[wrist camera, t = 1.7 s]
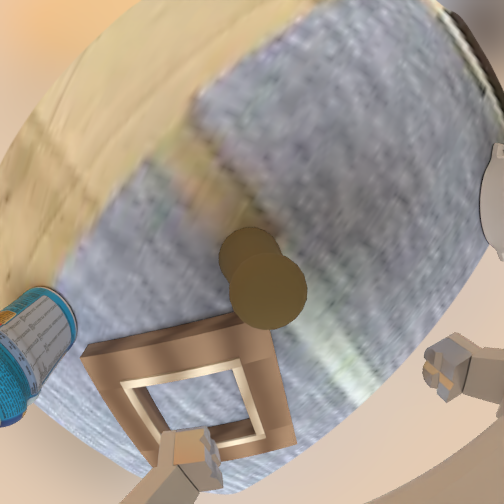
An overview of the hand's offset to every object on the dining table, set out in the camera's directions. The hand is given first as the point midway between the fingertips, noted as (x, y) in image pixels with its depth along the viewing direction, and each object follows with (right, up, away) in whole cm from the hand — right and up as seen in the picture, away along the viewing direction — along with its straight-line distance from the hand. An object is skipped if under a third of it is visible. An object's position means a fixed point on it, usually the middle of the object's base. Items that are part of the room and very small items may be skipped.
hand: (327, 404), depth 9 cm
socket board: (-9, -12, +23) cm, 27 cm away
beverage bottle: (-26, -2, +18) cm, 32 cm away
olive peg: (-3, +5, +20) cm, 21 cm away
